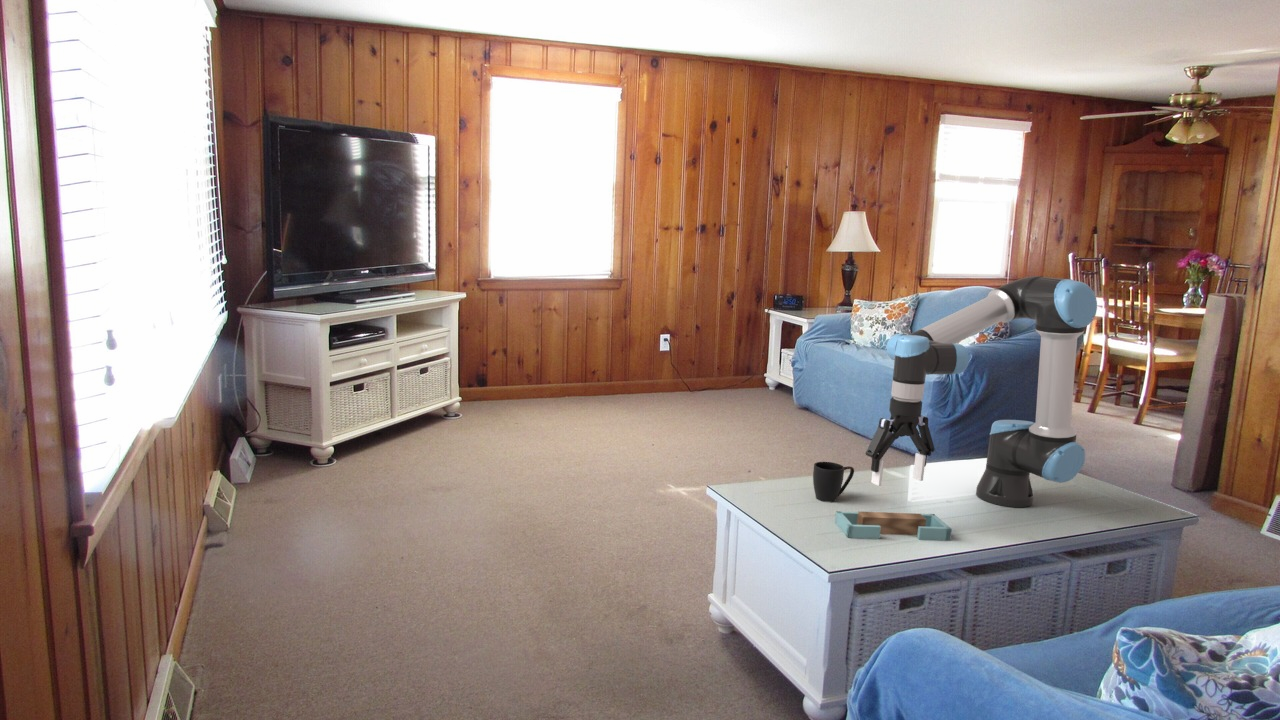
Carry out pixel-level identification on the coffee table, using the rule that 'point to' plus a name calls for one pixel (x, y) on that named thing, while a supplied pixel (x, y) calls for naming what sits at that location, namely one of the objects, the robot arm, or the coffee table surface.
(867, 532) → the cap
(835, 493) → the mug
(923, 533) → the teal staple arch
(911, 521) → the slat
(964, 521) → the coffee table surface
